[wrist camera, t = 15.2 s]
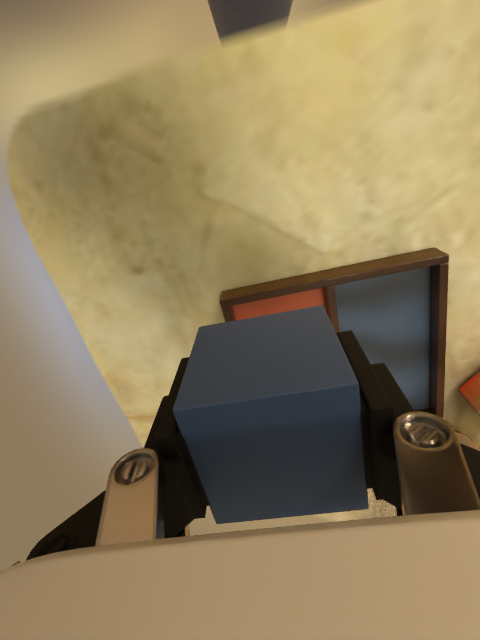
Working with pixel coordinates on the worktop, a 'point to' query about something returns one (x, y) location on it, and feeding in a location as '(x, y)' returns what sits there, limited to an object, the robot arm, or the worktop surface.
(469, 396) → the cracker box
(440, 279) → the sorting tray
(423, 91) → the worktop surface
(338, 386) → the slate-blue block
